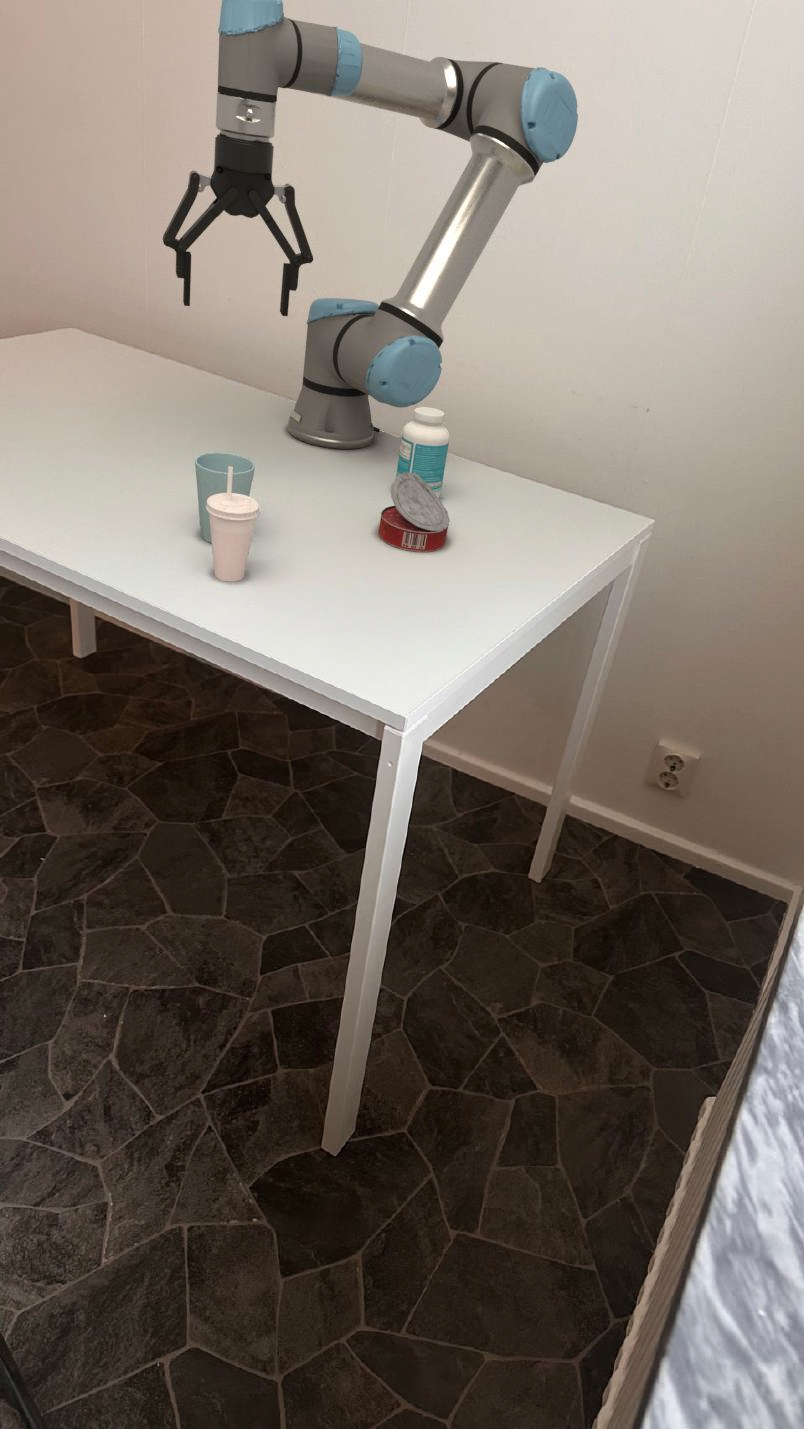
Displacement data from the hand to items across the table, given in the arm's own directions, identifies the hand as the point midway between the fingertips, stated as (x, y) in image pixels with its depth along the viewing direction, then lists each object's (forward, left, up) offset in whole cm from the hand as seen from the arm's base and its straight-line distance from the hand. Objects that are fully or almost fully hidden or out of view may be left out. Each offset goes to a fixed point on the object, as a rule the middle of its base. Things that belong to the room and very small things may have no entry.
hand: (235, 309), depth 139 cm
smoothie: (+20, +28, -25) cm, 42 cm away
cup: (+14, +18, -25) cm, 34 cm away
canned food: (-11, +30, -25) cm, 40 cm away
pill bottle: (-24, +18, -25) cm, 39 cm away
